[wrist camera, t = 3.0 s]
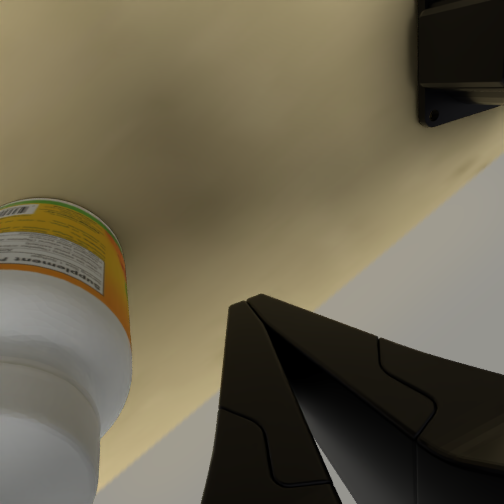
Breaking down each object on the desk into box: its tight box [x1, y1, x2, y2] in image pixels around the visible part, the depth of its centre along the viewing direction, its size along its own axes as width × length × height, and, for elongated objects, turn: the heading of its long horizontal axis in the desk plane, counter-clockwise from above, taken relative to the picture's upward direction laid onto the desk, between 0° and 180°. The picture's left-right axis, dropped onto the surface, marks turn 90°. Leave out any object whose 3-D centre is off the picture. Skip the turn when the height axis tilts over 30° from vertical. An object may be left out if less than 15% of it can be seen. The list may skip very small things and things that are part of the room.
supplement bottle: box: [0, 198, 132, 504], centre depth 10 cm, size 5×5×10 cm
